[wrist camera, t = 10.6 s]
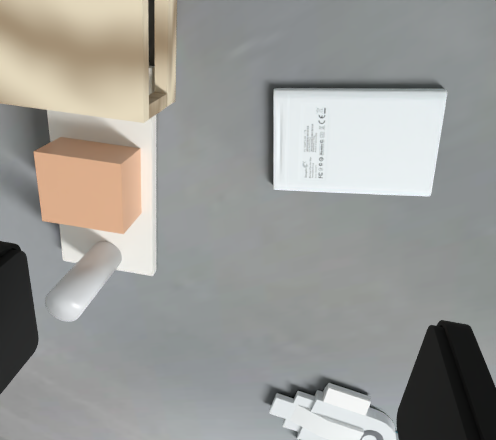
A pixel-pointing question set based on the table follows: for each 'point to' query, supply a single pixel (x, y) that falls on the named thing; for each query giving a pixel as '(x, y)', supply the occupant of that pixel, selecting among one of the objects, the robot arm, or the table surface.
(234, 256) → the table surface
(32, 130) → the table surface
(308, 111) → the external hard drive
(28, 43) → the tunnel
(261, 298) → the table surface
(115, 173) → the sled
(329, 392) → the toy rocket
